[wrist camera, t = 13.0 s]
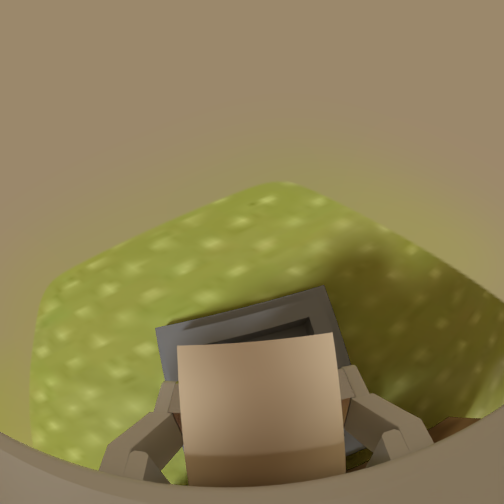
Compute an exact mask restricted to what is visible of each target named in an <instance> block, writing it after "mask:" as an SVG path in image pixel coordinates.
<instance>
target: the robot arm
mask: <svg viewBox="0 0 504 504" xmlns="http://www.w3.org/2000/svg"><path fill="white" fill-rule="evenodd" d="M337 369H338V377H339V386H340V395H341V405H342V416H343V428H344V429H345V430H346V431H347V432H348V433H350V434H351V435H352V436H353V437H354V438H356V439H357V440H358V441H359V442H360V443H362V444H363V445H364V446H365V447H367V448H368V449H369V450H370V451H372V452H373V455H372V456H371V458H370V460H369V462H368V464H367V466H366V468H364V469H361V470H357V471H353V472H349V473H345V474H341V475H336V476H331V477H326V478H321V479H316V480H310V481H303V482H296V483H288V484H280V485H269V486H254V487H199V486H184V485H173V484H170V482H169V481H168V480H167V479H166V477H165V476H164V475H163V474H162V473H161V470H162V469H163V468H164V467H165V465H166V464H167V463H168V462H169V461H170V460H171V459H172V457H173V456H174V455H175V454H176V453H177V452H178V451H179V449H180V448H181V447H182V446H183V445H184V444H183V434H182V423H181V411H180V397H179V381H164V382H163V383H162V385H161V388H160V392H159V395H158V398H157V402H156V405H155V409H154V412H149V413H148V414H147V415H145V416H144V417H143V418H142V419H140V420H139V421H138V422H137V423H135V424H134V425H133V426H132V427H130V428H129V429H128V430H127V431H125V432H124V433H123V434H121V435H120V436H119V437H118V438H116V439H115V440H114V441H112V442H111V443H110V444H108V446H107V449H106V452H105V454H104V457H103V460H102V463H101V466H100V469H99V471H97V470H94V469H90V468H87V467H83V466H80V465H77V464H74V463H71V462H68V461H65V460H62V459H59V458H57V457H54V456H51V455H49V454H46V453H44V452H41V451H39V450H36V449H34V448H32V447H29V446H27V445H25V444H23V443H21V442H19V441H17V440H15V439H12V438H11V437H9V436H7V435H5V434H3V433H1V432H0V504H504V405H502V406H501V407H499V408H498V409H496V410H495V411H493V412H492V413H490V414H488V415H487V416H485V417H484V418H482V419H480V420H479V421H477V422H475V423H473V424H472V425H470V426H468V427H466V428H464V429H462V430H461V431H459V432H457V433H455V434H453V435H451V436H449V437H447V438H445V439H443V440H440V441H438V442H436V443H434V442H433V440H432V438H431V437H430V435H429V433H428V431H427V429H426V427H425V425H424V424H423V422H422V420H421V419H420V418H418V417H416V416H414V415H412V414H410V413H409V412H407V411H405V410H403V409H401V408H399V407H398V406H396V405H394V404H392V403H390V402H388V401H387V400H385V399H383V398H381V397H379V396H378V395H376V394H374V393H371V394H370V393H369V391H368V389H367V387H366V385H365V383H364V381H363V379H362V377H361V375H360V373H359V371H358V368H357V366H356V365H350V366H345V367H340V368H337Z"/></svg>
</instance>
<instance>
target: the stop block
mask: <svg viewBox="0 0 504 504" xmlns="http://www.w3.org/2000/svg"><path fill="white" fill-rule="evenodd" d="M177 359H178V381H179V397H180V411H181V423H182V434H183V444H184V453H185V461H186V469H187V476H188V483H189V486H199V487H254V486H269V485H280V484H288V483H296V482H303V481H310V480H316V479H321V478H326V477H331V476H336V475H341V474H345V473H346V460H345V443H344V429H343V416H342V405H341V395H340V386H339V377H338V369H337V361H336V353H335V346H334V338H333V332H331V333H325V334H318V335H310V336H302V337H294V338H285V339H276V340H266V341H255V342H243V343H228V344H211V345H185V346H177Z"/></svg>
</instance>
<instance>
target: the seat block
mask: <svg viewBox="0 0 504 504" xmlns="http://www.w3.org/2000/svg"><path fill="white" fill-rule="evenodd" d="M155 330H156V336H157V342H158V347H159V352H160V358H161V363H162V368H163V373H164V377H165V381H178V359H177V346H185V345H211V344H228V343H243V342H255V341H266V340H276V339H285V338H294V337H302V336H310V335H318V334H325V333H331V332H333V338H334V346H335V353H336V361H337V368H340V367H345V366H350V365H351V363H350V360H349V357H348V354H347V350H346V347H345V344H344V341H343V338H342V335H341V332H340V329H339V326H338V323H337V320H336V317H335V314H334V312H333V309H332V306H331V303H330V300H329V297H328V295H327V292H326V289H325V286H324V285H322V286H319V287H316V288H312V289H309V290H305V291H302V292H298V293H295V294H291V295H288V296H284V297H281V298H277V299H273V300H270V301H266V302H262V303H258V304H255V305H251V306H247V307H243V308H239V309H235V310H231V311H227V312H223V313H219V314H215V315H211V316H207V317H203V318H198V319H194V320H190V321H185V322H181V323H176V324H172V325H167V326H163V327H158V328H155ZM343 429H344V428H343ZM344 443H345V456H348V455H350V454H353V453H355V452H358V451H360V450H363V449H365V448H367V447H365V446H364V445H363V444H362V443H360V442H359V441H358V440H357V439H356V438H354V437H353V436H352V435H351V434H350V433H348V432H347V431H346V430H345V429H344ZM182 447H183V450H184V445H183V446H182ZM184 454H185V453H184Z"/></svg>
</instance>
